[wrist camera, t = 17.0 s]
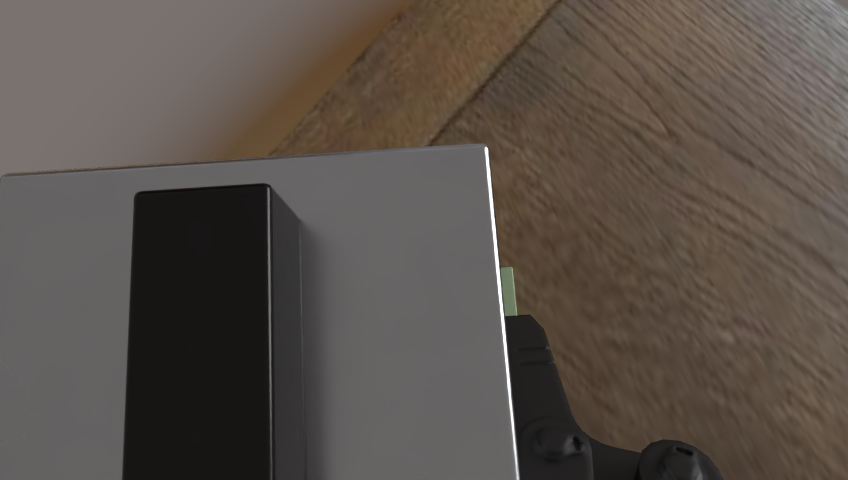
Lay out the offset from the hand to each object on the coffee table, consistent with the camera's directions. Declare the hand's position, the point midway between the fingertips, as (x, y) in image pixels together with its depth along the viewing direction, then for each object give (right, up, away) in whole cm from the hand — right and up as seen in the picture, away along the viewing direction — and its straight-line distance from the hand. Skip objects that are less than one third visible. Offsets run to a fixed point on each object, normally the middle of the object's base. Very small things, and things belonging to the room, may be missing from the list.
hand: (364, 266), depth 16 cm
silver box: (0, -5, +6) cm, 8 cm away
